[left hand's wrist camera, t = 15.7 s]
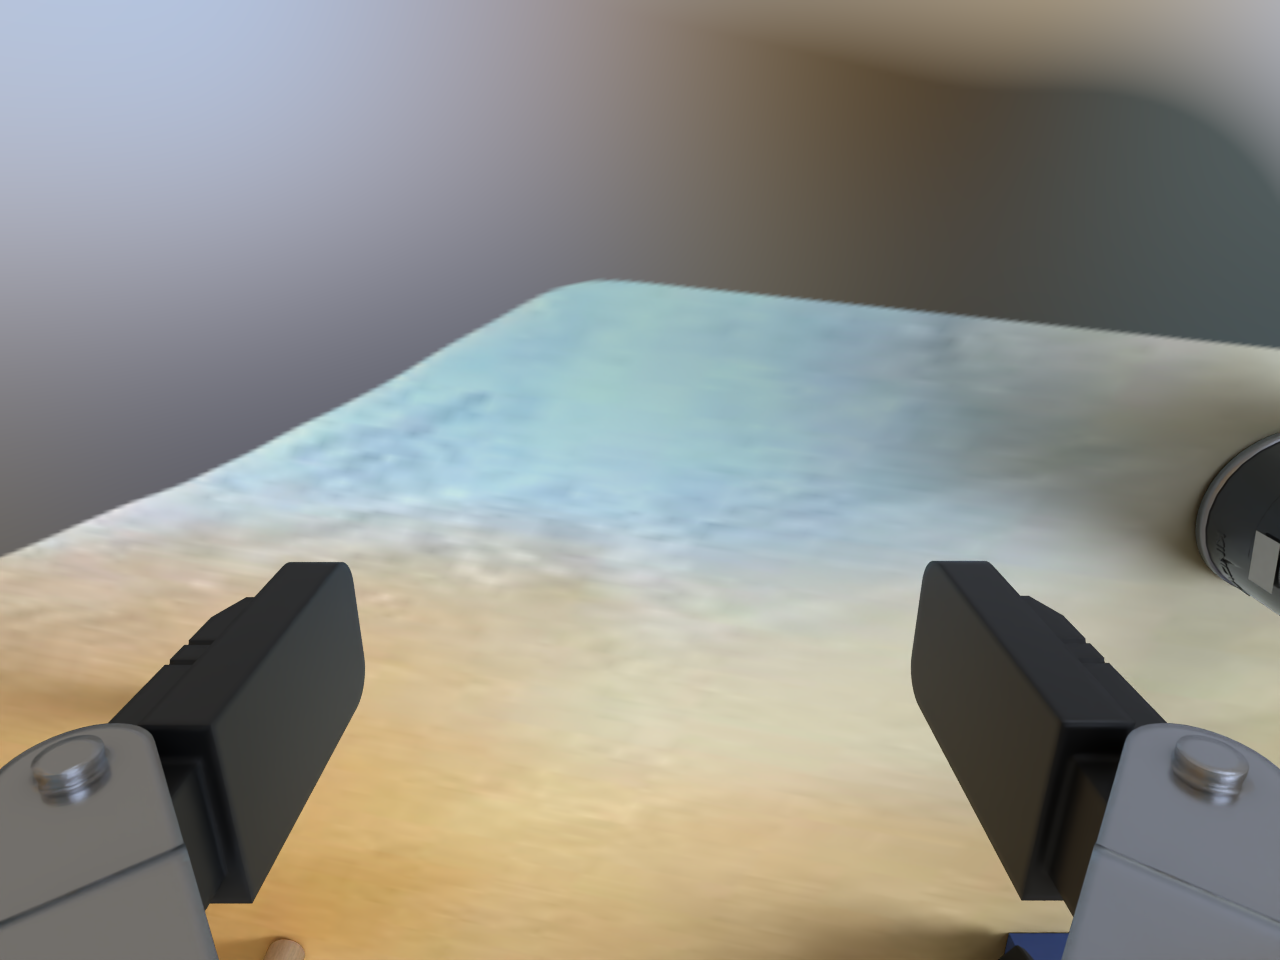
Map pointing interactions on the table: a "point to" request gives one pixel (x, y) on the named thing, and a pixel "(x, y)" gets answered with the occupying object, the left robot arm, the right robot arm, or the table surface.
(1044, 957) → the brick
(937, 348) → the table surface
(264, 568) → the table surface
